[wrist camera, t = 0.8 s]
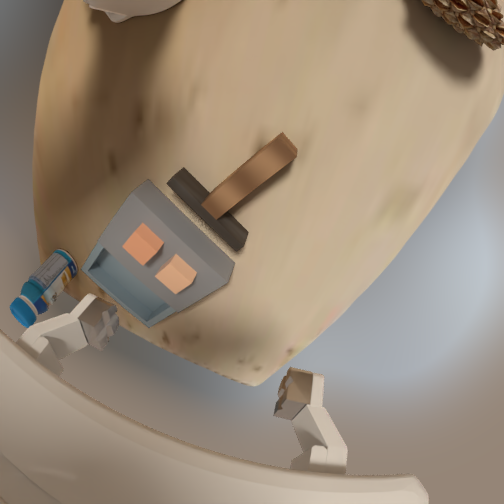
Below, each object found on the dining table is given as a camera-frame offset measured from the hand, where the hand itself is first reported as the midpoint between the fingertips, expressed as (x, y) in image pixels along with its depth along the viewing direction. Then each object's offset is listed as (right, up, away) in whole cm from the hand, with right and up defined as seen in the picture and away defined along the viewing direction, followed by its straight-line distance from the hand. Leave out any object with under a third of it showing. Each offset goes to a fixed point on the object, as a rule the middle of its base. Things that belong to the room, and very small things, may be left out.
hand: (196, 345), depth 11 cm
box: (-22, -1, +43) cm, 48 cm away
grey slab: (-12, +6, +36) cm, 38 cm away
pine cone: (+24, +37, +5) cm, 45 cm away
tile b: (-9, +1, +32) cm, 33 cm away
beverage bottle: (-43, +2, +46) cm, 63 cm away
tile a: (-14, +6, +30) cm, 33 cm away
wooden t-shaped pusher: (+2, +15, +26) cm, 30 cm away
